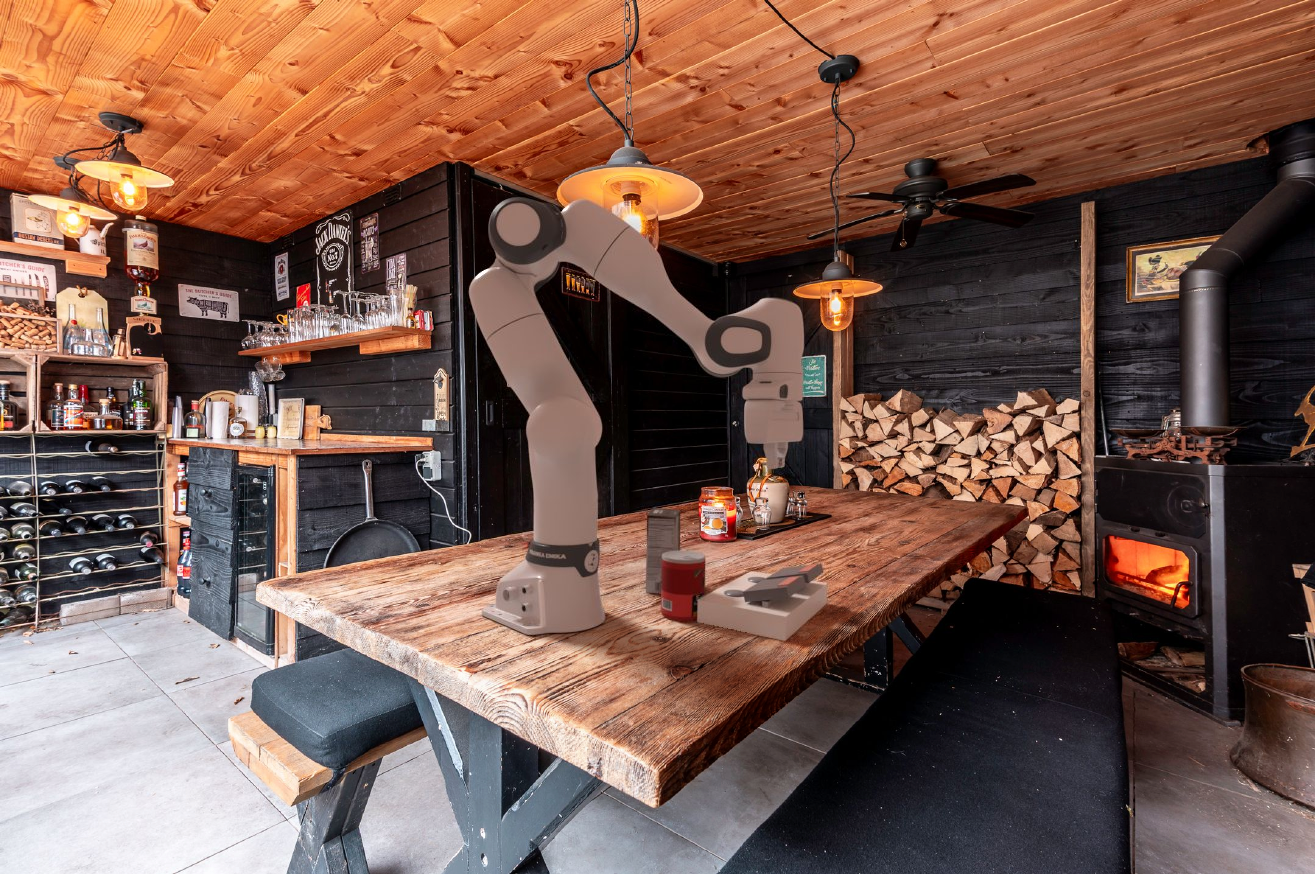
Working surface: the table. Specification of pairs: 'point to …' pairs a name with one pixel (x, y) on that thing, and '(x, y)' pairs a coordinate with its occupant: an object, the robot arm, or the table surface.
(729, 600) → the beige flat block
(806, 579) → the rocker far
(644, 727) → the table surface
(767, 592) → the rocker near
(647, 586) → the coffee box
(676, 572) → the canned food
